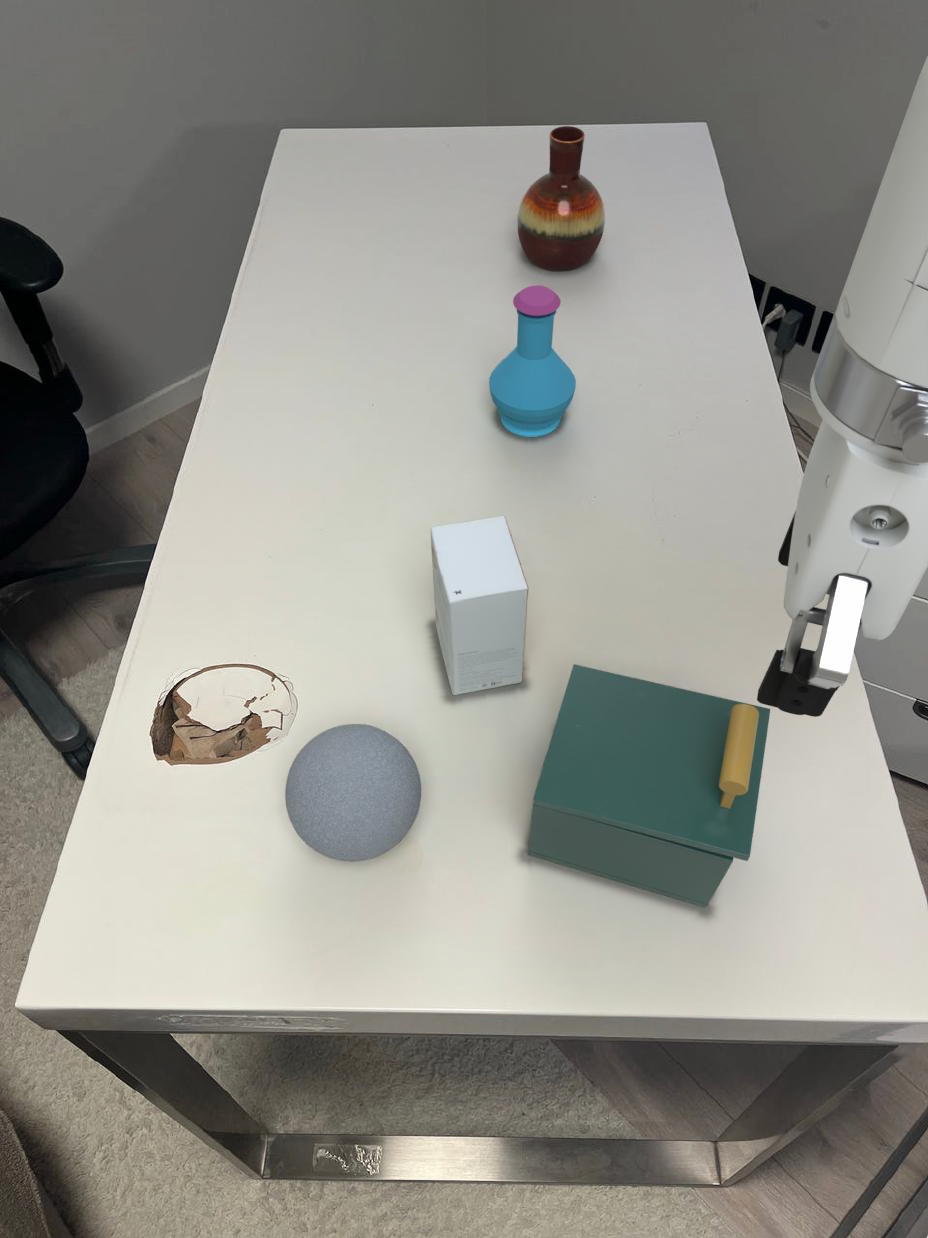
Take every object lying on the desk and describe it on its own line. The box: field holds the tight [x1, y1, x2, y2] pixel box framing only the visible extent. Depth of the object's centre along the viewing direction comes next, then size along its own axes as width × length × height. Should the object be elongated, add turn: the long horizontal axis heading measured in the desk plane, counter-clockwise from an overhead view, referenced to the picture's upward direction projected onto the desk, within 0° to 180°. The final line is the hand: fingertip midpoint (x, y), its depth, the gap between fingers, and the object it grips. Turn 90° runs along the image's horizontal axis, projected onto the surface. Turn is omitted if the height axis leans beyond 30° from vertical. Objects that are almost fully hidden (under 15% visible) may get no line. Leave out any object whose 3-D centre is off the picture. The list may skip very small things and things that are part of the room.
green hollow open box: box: [527, 803, 734, 909], centre depth 67 cm, size 14×12×9 cm
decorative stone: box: [284, 723, 422, 863], centre depth 67 cm, size 10×10×10 cm
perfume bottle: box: [488, 285, 577, 438], centre depth 93 cm, size 9×9×15 cm
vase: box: [516, 125, 606, 272], centre depth 112 cm, size 11×11×15 cm
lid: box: [532, 664, 771, 862], centre depth 61 cm, size 14×12×5 cm
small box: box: [430, 515, 529, 696], centre depth 75 cm, size 8×6×13 cm
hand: (797, 631), depth 49 cm, fingers open, 9 cm apart
